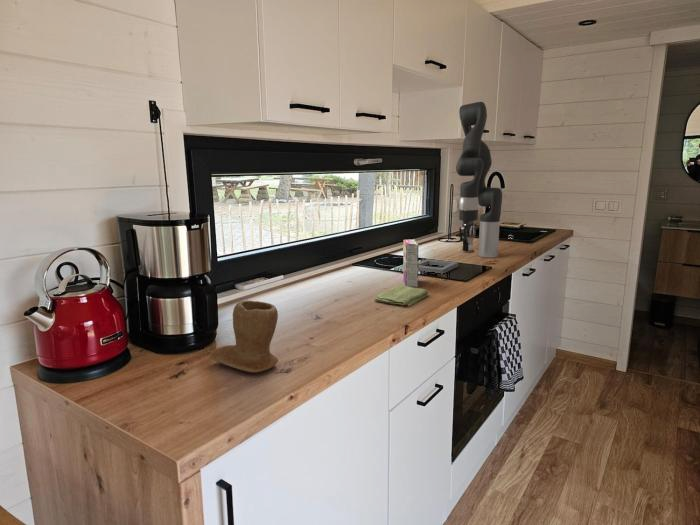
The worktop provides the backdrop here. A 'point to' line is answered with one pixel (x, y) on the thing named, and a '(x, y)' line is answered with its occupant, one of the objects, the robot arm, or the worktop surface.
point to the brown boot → (250, 338)
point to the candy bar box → (410, 262)
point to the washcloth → (402, 295)
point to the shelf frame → (446, 268)
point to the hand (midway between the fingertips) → (467, 249)
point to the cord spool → (470, 249)
